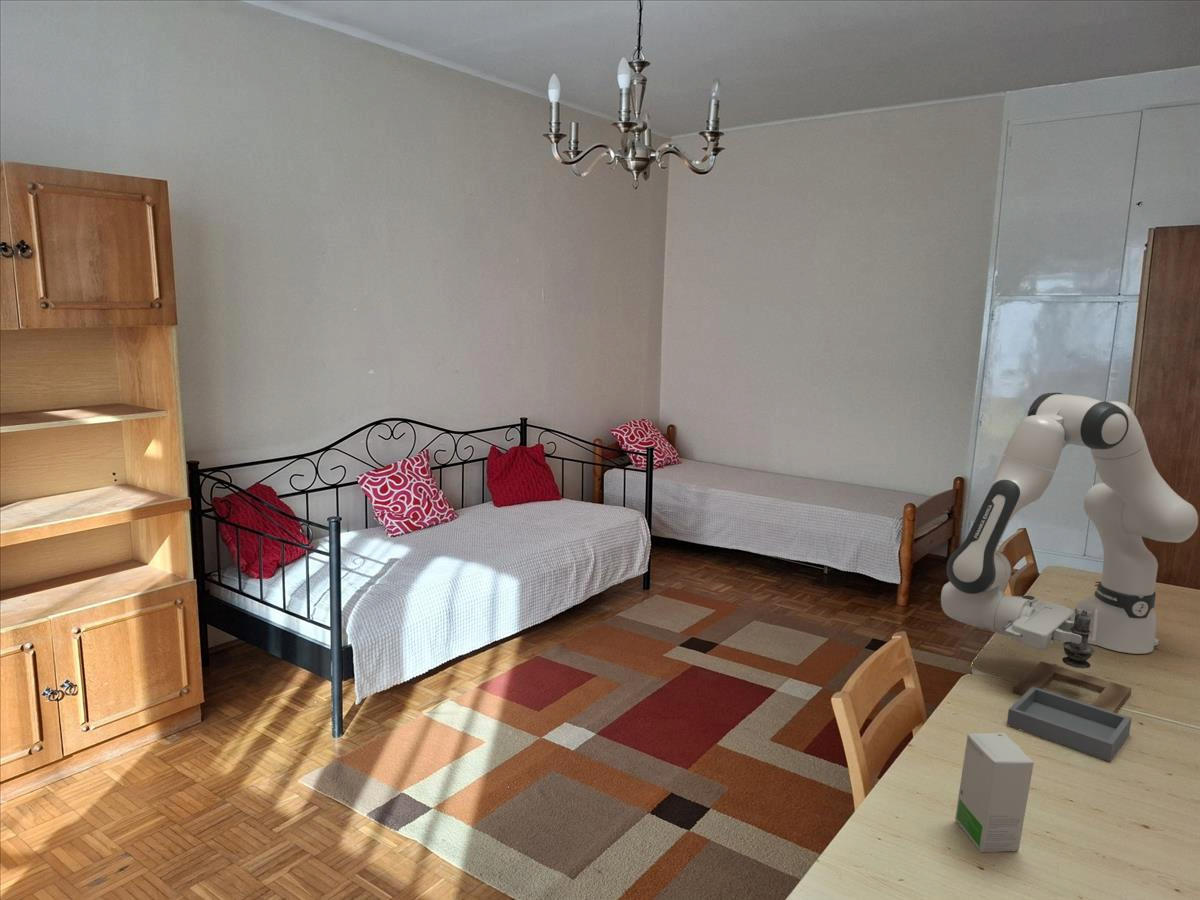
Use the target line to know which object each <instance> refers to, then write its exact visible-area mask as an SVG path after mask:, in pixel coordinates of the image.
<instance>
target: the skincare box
mask: <svg viewBox="0 0 1200 900" xmlns="http://www.w3.org/2000/svg"><path fill="white" fill-rule="evenodd" d="M965 744H966V745H965V750H964V751H965V752H964V755H963V756H964V759H963V763H962V764H963V765H962V769H961V770H962V771H961V778H960V785H959V791H958V798H957V803H956V804H957V805H956V812H955V816H954V817H955V822H956V821H957V822H956V823H957V824H958V823H959V824H958V826H960V828H961V827H962V828H961V829H962V830H963V832H964V831H965V832H964V833H965V834H966V836H967V837H968V836H969V837H968V838H969V839H970V841H971V840H972V841H973V842H974V843H975V844H974V843H973V842H972V841H971V842H972V843H973V844H974V846H975V845H976V846H977V847H978V848H977V847H976V846H975V847H976V848H977V850H978V849H979V850H980V851H981V852H987V853H999V852H998V851H1013V850H1015V851H1014V852H1017V851H1016V850H1019V851H1020V845H1021V839H1022V834H1023V826H1024V821H1025V816H1026V810H1027V803H1028V797H1029V793H1030V786H1031V780H1032V775H1033V769H1034V763H1035V762H1034V761H1033V760H1032V759H1031V758H1030V757H1029V756H1028V755H1027V754H1026V753H1025V752H1024V751H1023V750H1022V748H1021V747H1020V746H1019V745H1018V744H1017V743H1015V742H1014V741H1013V740H1012V739H1011V738H1010V737H1009V736H1008V735H1007V734H1006V733H1004V732H989V733H987V732H983V733H982V732H981V733H967V737H966V743H965ZM979 850H978V851H979ZM980 851H979V852H980ZM981 852H980V853H981Z"/></svg>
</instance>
